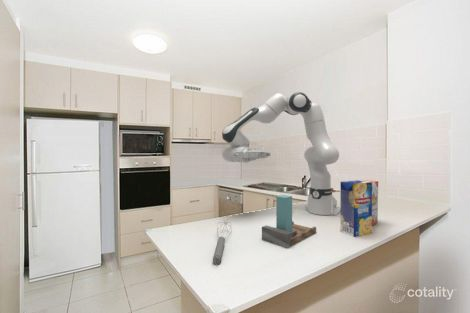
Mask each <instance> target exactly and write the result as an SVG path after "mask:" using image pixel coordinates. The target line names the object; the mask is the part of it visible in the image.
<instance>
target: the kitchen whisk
mask: <svg viewBox="0 0 470 313" xmlns="http://www.w3.org/2000/svg"><path fill="white" fill-rule="evenodd" d="M223 221H224V222H223ZM219 223H220V227H222V226H223V225H224V226H223V228H222V230H221V233H222V236H220V235H219V232H218V231H219V228H220V227H217V229H216V234H217V238H218V239H217V242H216V246H215V250H214V254H213V257H212V263H213V264H214V265H215V266H216V267H217V268H218V267H219V264H220V263H221V262H222V258H223V253H224V248H225V242H226V239H227V235H228V236H230V235H231V233H229V232H232V228H233V227H232V225H233V224H232V222H231V221H228V219H226V221H225V220H224V219H221V221H218V223H217V225H216V226H218V225H219ZM221 223H222V224H221ZM229 223H230V224H229ZM227 225H228V226H229V227H230V228H229V230H228V229H227V228H228V226H227ZM225 230H227V233H226V234H225V232H226V231H225ZM224 235H225V236H224Z"/></svg>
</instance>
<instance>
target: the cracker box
mask: <svg viewBox="0 0 470 313" xmlns="http://www.w3.org/2000/svg"><path fill="white" fill-rule="evenodd" d="M364 181H367V182H372V226H374V225H377V224H378V222H379V221H378V220H379V219H378V217H379V181H377V180H369V179H367V180H364Z"/></svg>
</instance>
